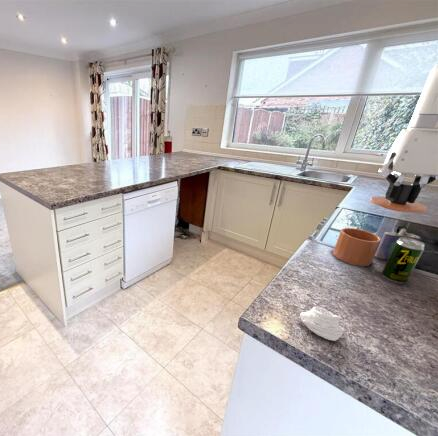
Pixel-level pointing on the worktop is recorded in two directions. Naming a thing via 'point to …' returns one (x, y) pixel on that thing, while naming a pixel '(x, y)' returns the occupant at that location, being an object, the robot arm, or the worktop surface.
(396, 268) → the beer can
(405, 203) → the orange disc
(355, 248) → the pot
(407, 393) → the worktop surface
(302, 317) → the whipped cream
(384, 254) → the flask
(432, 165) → the robot arm
